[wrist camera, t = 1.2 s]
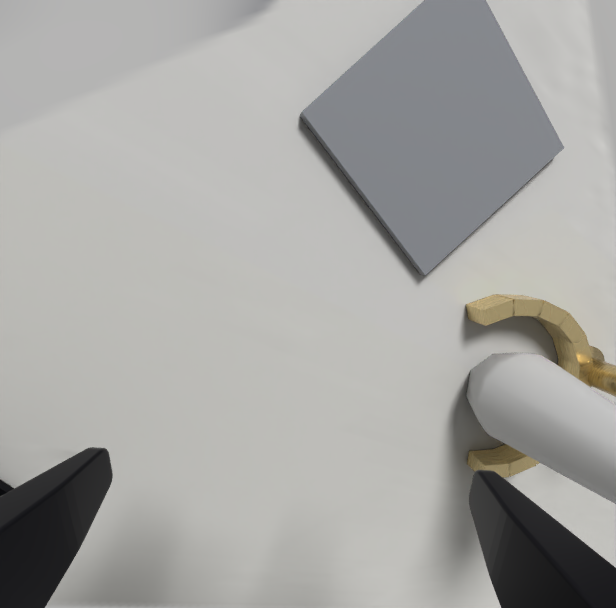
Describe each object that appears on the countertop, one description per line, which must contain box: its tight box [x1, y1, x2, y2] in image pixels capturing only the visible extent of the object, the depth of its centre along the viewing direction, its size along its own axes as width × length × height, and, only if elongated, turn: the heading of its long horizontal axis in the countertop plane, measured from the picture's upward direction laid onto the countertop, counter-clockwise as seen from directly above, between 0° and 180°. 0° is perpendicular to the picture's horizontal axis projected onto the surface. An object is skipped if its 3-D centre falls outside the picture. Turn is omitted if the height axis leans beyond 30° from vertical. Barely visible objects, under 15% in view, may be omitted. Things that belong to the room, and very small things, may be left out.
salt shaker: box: [466, 353, 616, 504], centre depth 18 cm, size 6×6×13 cm
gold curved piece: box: [466, 294, 616, 477], centre depth 22 cm, size 10×12×6 cm
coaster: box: [300, 0, 564, 275], centre depth 19 cm, size 11×11×1 cm
